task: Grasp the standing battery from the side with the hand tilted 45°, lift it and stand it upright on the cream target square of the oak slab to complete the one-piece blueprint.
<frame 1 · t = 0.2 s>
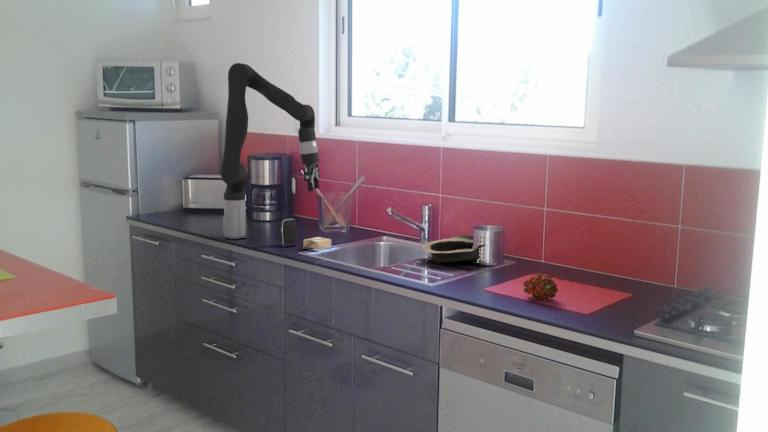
hand: (313, 190, 306), 22 cm above the worktop, tool pointing down, fingers open, 8 cm apart
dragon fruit: (539, 299, 221), on the worktop
stone bowl: (454, 262, 272), on the worktop
battery: (287, 246, 299), on the worktop
oak slab: (317, 249, 293), on the worktop
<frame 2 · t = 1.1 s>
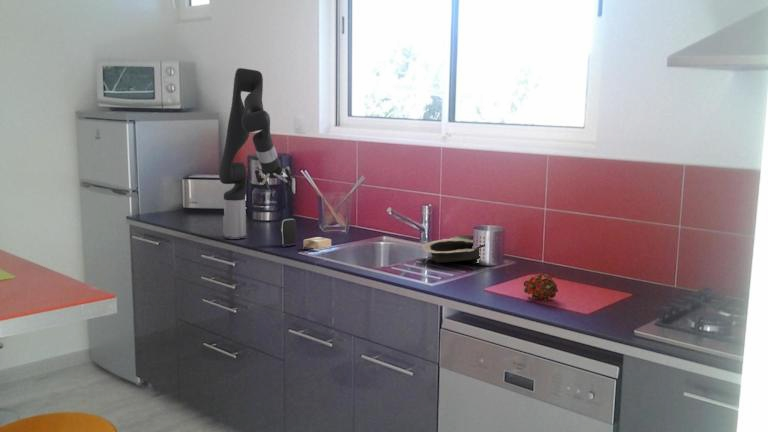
hand: (278, 188, 290), 25 cm above the worktop, tool tilted 35°, fingers open, 8 cm apart
nothing on the worktop moved.
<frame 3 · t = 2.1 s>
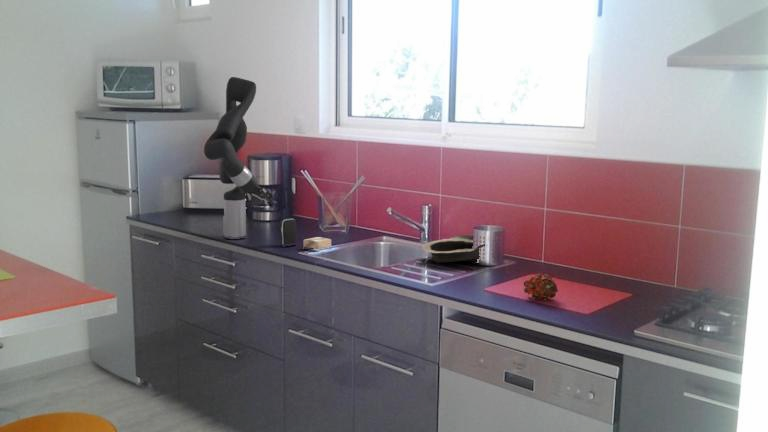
hand: (265, 205, 287), 19 cm above the worktop, tool tilted 45°, fingers open, 8 cm apart
nothing on the worktop moved.
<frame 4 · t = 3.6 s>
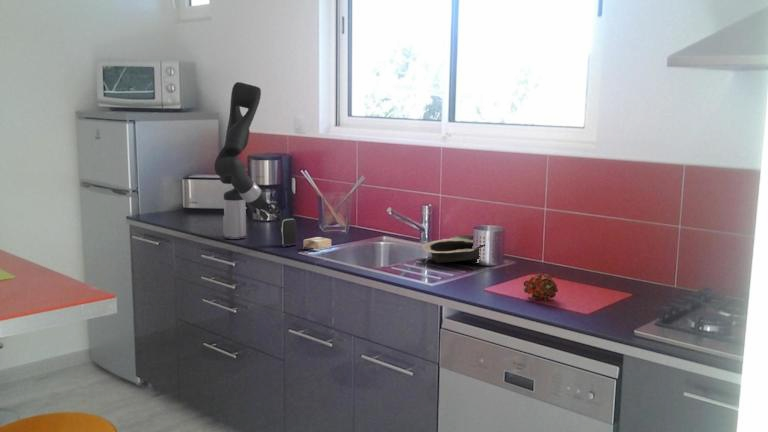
hand: (274, 219, 291), 12 cm above the worktop, tool tilted 45°, fingers open, 8 cm apart
nothing on the worktop moved.
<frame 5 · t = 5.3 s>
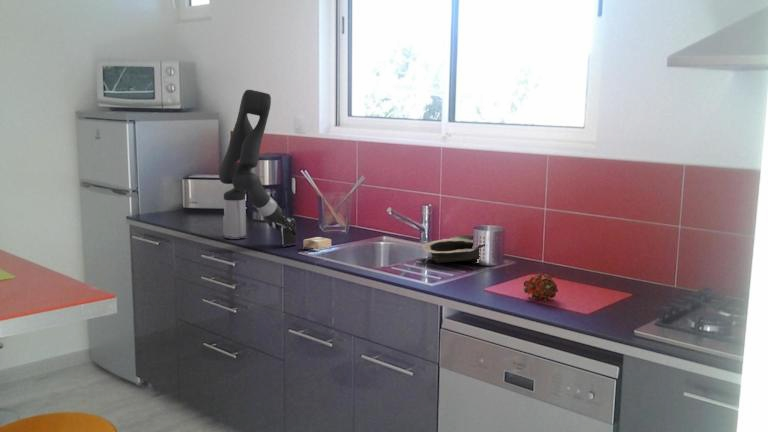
hand: (289, 232, 299), 6 cm above the worktop, tool tilted 45°, fingers open, 8 cm apart
nothing on the worktop moved.
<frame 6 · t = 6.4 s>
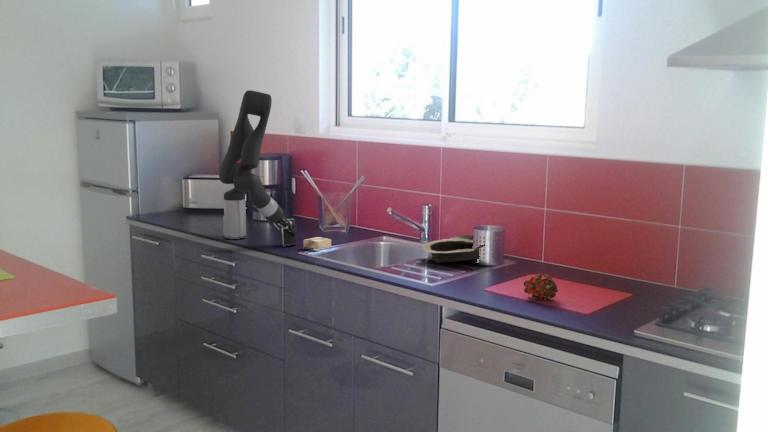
hand: (291, 234, 300), 5 cm above the worktop, tool tilted 45°, fingers closed on battery, 4 cm apart
battery: (287, 246, 299), on the worktop, touching gripper
everything else where it was.
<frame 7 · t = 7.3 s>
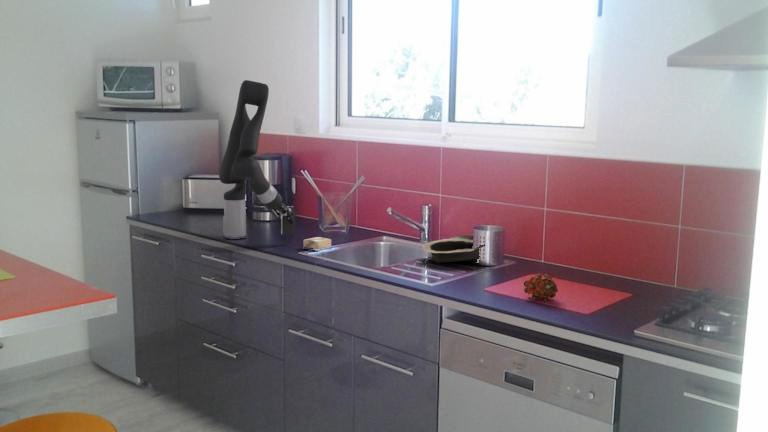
hand: (289, 221, 299), 10 cm above the worktop, tool tilted 45°, fingers closed on battery, 4 cm apart
battery: (286, 233, 299), point 5 cm above the worktop, touching gripper
everything else where it was.
when the fingers open (10 cm above the worktop, at t = 11.9 s): battery stays where it is, resting on oak slab.
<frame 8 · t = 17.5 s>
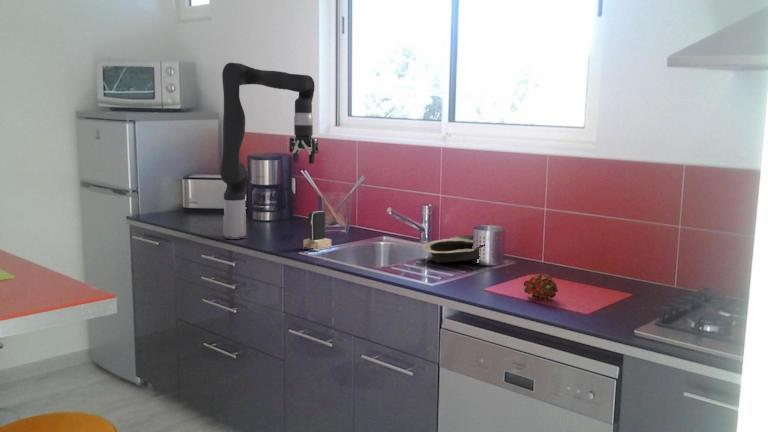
hand: (303, 163, 299), 34 cm above the worktop, tool pointing down, fingers open, 8 cm apart
battery: (316, 239, 293), point 4 cm above the worktop, touching oak slab
everything else where it was.
at the end: battery 0.4 cm from the oak slab (horizontally); battery touching oak slab; battery tilted 0° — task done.
